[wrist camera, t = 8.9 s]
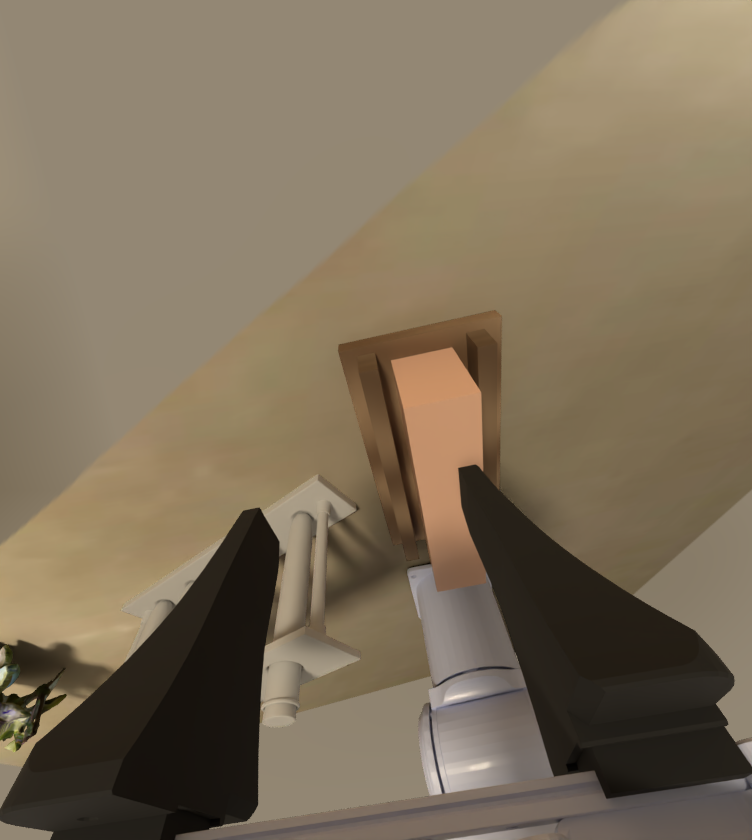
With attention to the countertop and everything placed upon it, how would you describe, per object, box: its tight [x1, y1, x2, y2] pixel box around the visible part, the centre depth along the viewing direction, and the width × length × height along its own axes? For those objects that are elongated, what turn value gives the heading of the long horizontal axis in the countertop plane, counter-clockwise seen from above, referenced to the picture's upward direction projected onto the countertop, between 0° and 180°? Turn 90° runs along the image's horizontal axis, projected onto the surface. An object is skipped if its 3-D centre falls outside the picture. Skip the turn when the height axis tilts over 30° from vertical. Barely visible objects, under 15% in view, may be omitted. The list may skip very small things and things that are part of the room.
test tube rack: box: [121, 474, 361, 727], centre depth 25 cm, size 25×4×13 cm, turn 128°
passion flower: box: [0, 644, 67, 752], centre depth 35 cm, size 11×11×12 cm
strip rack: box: [338, 310, 502, 561], centre depth 24 cm, size 18×9×3 cm, turn 11°
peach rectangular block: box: [391, 347, 486, 592], centre depth 22 cm, size 16×4×5 cm, turn 11°
